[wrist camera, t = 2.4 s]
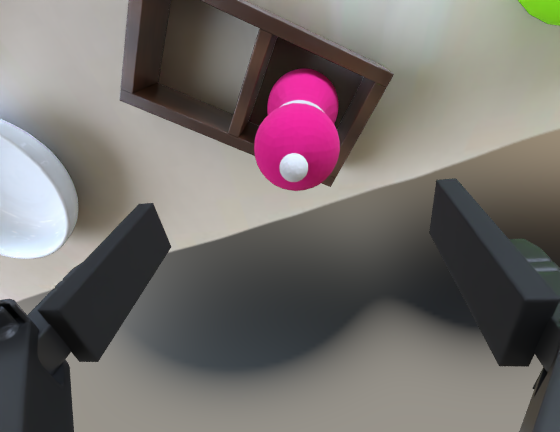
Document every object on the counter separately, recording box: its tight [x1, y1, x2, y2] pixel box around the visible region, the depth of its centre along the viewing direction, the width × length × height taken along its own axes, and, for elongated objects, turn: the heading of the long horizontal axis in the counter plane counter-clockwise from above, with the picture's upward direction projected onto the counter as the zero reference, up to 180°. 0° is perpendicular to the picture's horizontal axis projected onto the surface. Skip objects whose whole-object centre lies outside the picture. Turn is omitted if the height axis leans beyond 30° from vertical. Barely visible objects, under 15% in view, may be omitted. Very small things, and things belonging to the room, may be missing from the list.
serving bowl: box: [0, 119, 78, 259], centre depth 41 cm, size 21×21×7 cm
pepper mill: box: [254, 68, 340, 191], centre depth 27 cm, size 7×7×20 cm
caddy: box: [120, 0, 394, 187], centre depth 32 cm, size 12×24×6 cm, turn 68°
